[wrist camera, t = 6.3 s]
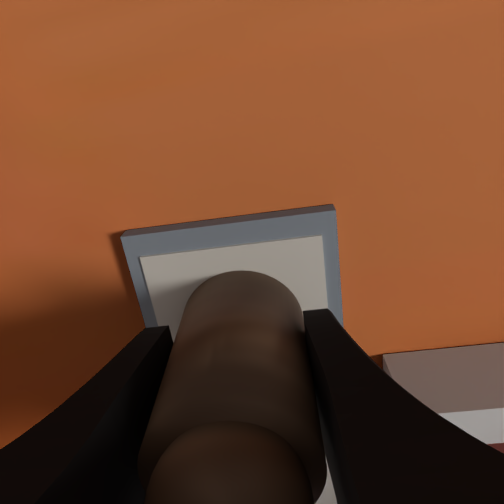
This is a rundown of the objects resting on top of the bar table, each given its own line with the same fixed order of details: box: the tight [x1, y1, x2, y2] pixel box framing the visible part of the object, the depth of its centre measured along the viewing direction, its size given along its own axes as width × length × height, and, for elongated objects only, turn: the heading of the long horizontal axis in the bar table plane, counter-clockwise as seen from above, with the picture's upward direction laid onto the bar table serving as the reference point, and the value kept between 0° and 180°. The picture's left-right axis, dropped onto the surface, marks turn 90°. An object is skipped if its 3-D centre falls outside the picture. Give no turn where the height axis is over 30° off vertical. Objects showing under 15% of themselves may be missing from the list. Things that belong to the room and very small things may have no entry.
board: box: [120, 204, 343, 504], centre depth 15 cm, size 6×18×1 cm, turn 8°
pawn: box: [137, 270, 327, 504], centre depth 9 cm, size 3×3×7 cm
